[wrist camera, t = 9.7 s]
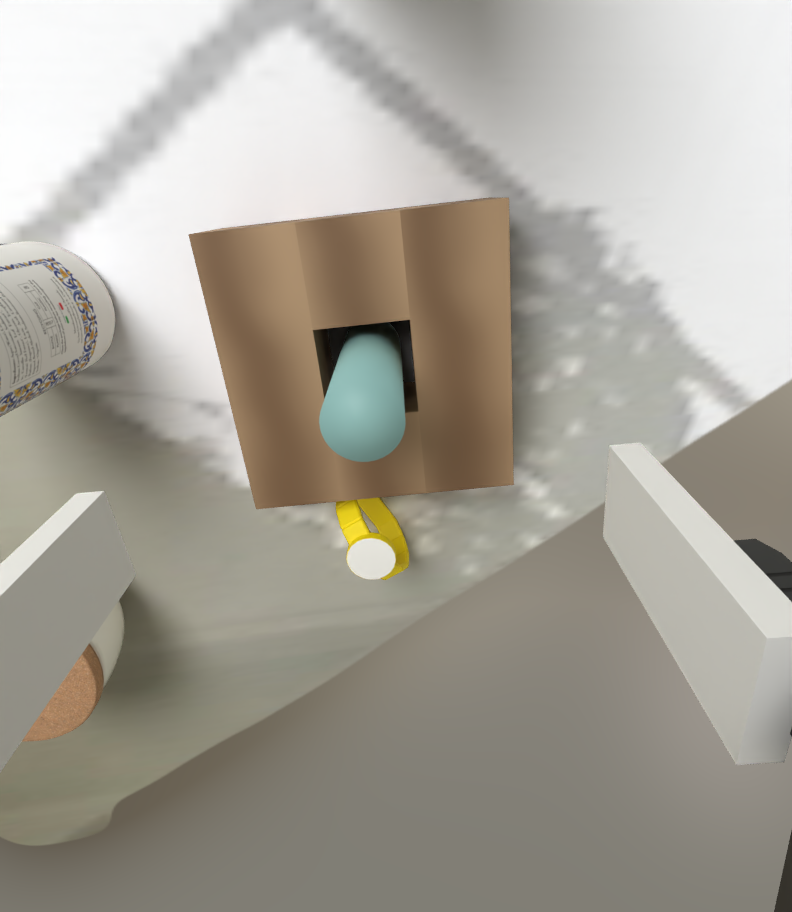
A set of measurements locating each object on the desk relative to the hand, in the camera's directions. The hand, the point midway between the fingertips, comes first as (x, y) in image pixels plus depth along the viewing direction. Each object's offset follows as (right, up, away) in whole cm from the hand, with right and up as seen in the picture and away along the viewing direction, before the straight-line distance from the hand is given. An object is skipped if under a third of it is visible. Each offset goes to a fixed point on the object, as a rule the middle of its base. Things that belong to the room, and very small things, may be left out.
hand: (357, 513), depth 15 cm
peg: (0, +8, +17) cm, 19 cm away
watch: (0, -2, +22) cm, 22 cm away
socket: (0, +8, +17) cm, 19 cm away
